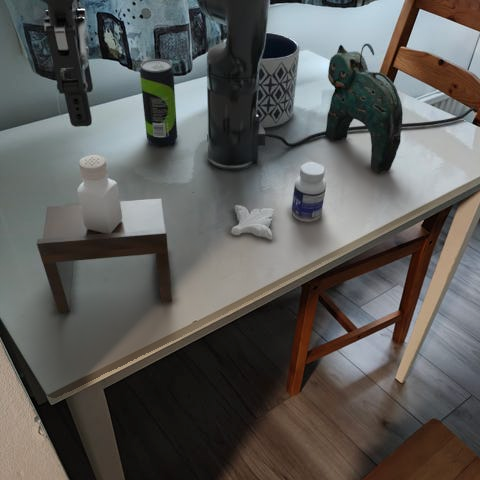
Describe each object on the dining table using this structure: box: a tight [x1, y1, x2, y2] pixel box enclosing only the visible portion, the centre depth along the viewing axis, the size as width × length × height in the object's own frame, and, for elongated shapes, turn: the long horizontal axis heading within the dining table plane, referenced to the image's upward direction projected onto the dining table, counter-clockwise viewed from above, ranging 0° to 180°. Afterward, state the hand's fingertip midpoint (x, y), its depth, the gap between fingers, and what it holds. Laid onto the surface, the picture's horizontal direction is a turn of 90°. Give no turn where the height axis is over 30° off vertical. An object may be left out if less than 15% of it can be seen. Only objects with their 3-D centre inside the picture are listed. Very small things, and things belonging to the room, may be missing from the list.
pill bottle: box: [291, 161, 327, 223], centre depth 88 cm, size 5×5×9 cm
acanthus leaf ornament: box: [231, 204, 275, 241], centre depth 88 cm, size 8×7×2 cm
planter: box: [222, 31, 300, 129], centre depth 112 cm, size 16×16×14 cm
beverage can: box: [139, 58, 178, 147], centre depth 102 cm, size 6×6×15 cm
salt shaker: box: [76, 154, 122, 234], centre depth 67 cm, size 4×4×10 cm
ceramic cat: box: [325, 43, 404, 174], centre depth 100 cm, size 20×6×20 cm, turn 29°
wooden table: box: [36, 198, 173, 313], centre depth 74 cm, size 16×11×12 cm
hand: (83, 107), depth 59 cm, fingers open, 8 cm apart
